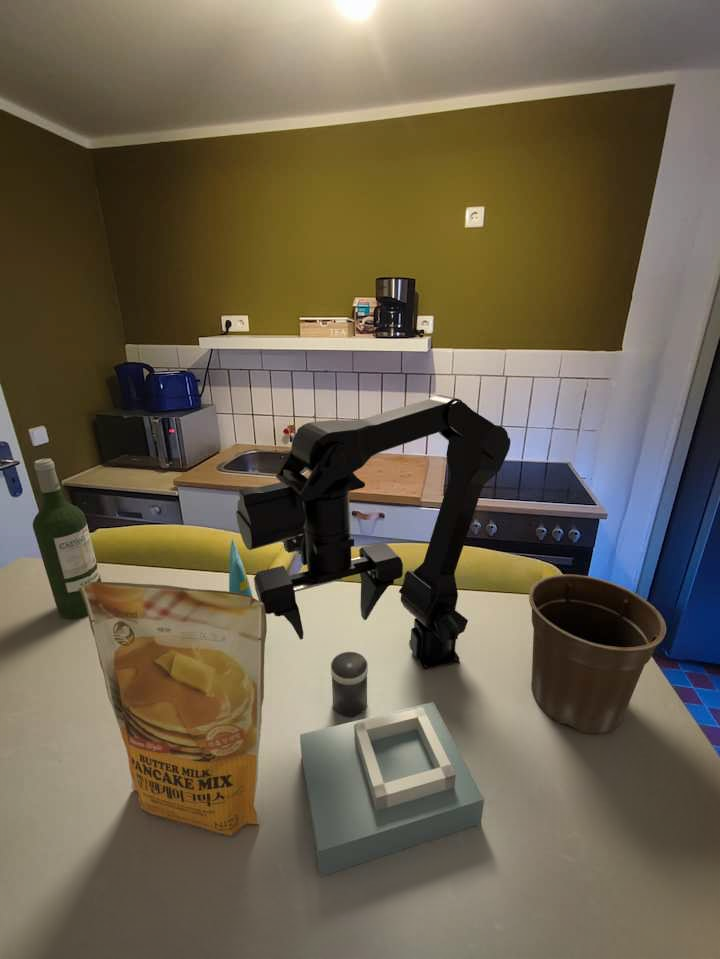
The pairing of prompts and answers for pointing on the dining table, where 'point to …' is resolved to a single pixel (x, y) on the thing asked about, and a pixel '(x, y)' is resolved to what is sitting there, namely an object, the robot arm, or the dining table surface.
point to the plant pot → (589, 649)
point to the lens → (349, 683)
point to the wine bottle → (63, 544)
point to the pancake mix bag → (185, 696)
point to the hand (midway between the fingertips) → (333, 627)
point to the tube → (237, 573)
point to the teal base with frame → (385, 786)
